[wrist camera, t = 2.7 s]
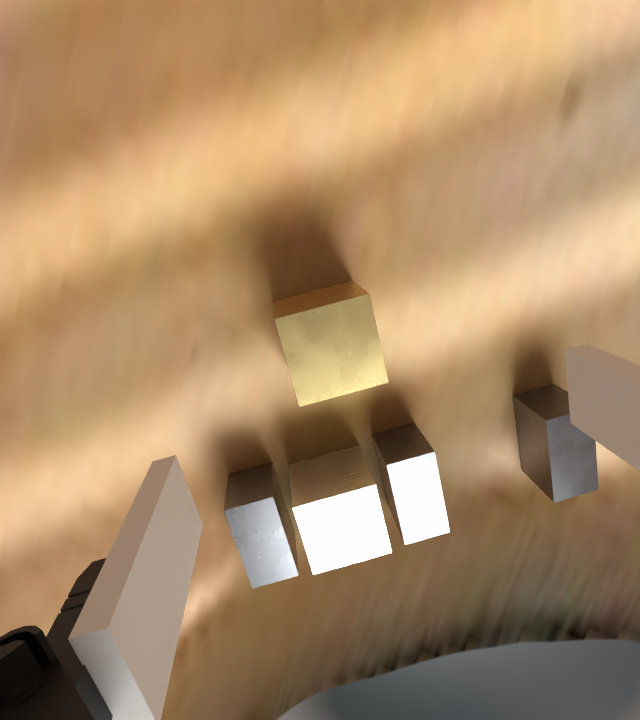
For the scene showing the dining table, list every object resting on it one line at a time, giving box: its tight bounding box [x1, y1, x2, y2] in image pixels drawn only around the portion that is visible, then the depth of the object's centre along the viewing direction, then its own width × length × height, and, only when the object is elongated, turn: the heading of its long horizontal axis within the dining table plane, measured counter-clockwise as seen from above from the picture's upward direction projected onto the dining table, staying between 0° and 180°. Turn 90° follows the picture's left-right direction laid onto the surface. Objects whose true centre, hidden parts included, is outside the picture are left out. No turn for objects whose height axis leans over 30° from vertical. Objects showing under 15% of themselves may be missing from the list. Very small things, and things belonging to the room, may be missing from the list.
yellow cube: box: [273, 280, 388, 407], centre depth 27 cm, size 5×5×5 cm
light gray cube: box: [288, 445, 392, 575], centre depth 30 cm, size 5×5×5 cm
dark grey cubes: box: [224, 384, 598, 588], centre depth 31 cm, size 6×23×4 cm, turn 104°
